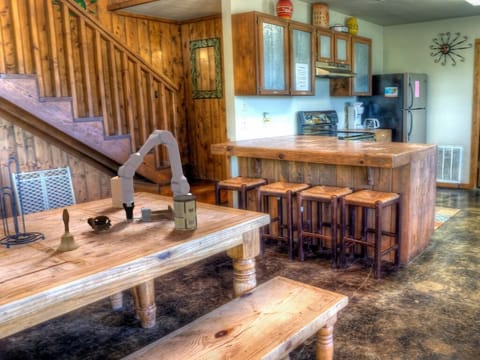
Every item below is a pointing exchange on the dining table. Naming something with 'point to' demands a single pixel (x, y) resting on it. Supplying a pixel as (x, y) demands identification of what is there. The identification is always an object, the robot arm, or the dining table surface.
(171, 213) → the walnut lane
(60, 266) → the dining table surface
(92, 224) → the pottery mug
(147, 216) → the tethered block
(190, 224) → the coffee can
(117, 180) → the soap dispenser
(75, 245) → the hand bell
